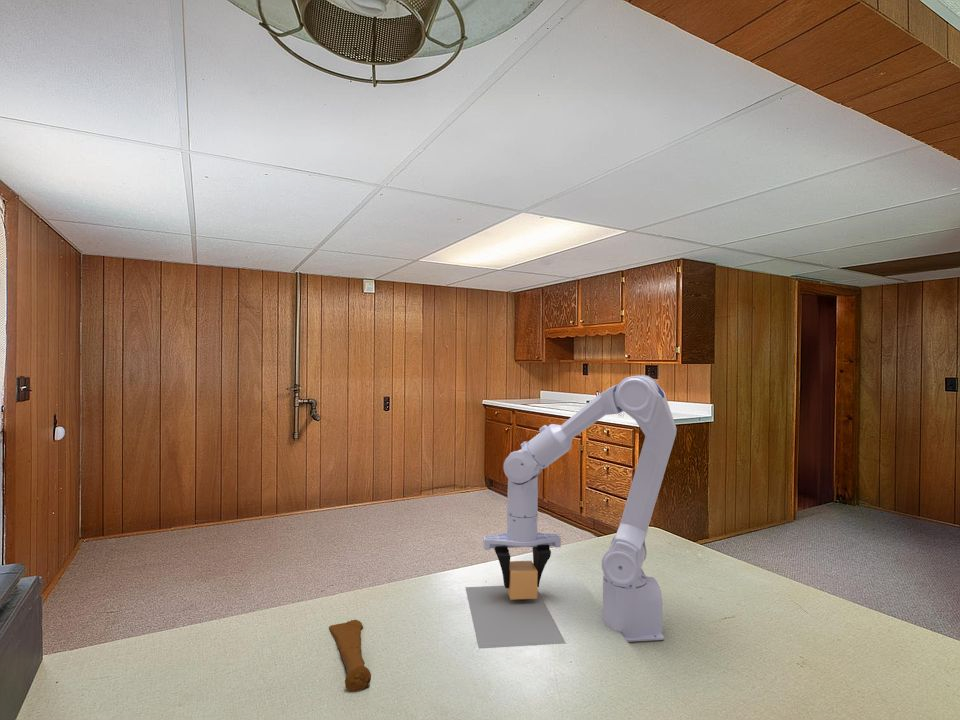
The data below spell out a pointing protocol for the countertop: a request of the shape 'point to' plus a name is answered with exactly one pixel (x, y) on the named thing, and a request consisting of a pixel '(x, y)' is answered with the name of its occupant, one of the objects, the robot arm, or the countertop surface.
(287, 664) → the countertop surface
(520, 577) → the wooden cube
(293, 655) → the countertop surface
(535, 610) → the board
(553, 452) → the robot arm
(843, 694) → the countertop surface
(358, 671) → the primitive tool
